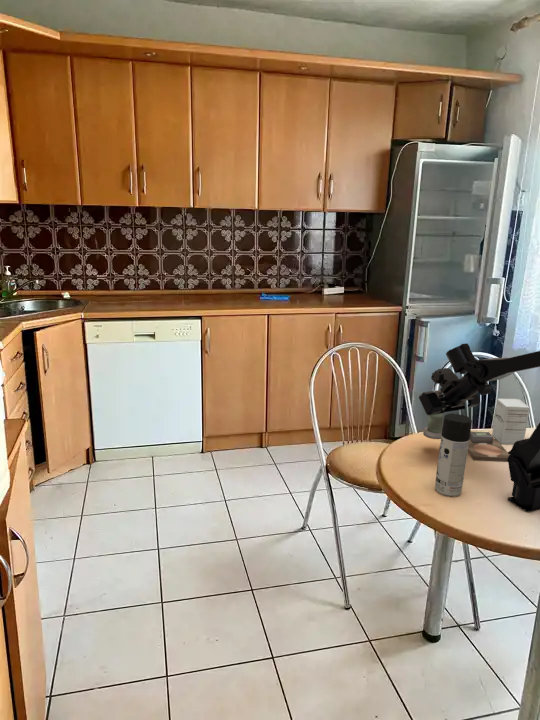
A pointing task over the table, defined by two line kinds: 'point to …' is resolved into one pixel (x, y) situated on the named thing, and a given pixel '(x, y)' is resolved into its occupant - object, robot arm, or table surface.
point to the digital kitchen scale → (486, 447)
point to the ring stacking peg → (434, 424)
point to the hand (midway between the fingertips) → (432, 412)
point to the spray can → (453, 454)
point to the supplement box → (510, 421)
